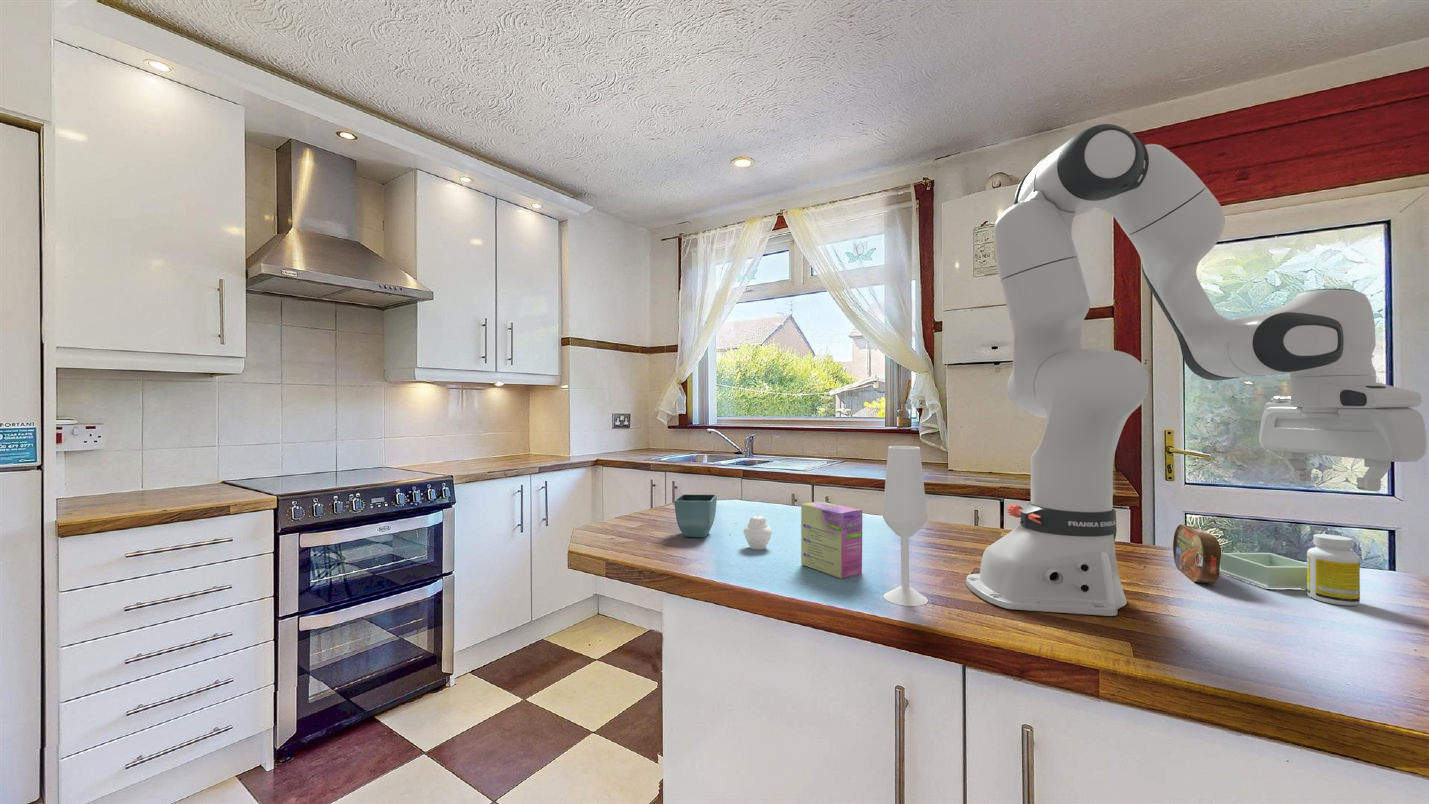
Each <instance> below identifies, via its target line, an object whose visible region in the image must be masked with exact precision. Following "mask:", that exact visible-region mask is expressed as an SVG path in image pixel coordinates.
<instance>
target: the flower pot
mask: <svg viewBox="0 0 1429 804" xmlns="http://www.w3.org/2000/svg"><path fill="white" fill-rule="evenodd" d="M717 497H718V495H717V494H707V493H706V494H695V493H694V494H692V493H691V494H686V493H685V494H684V493H683V494H681V495H680V496H678V497H677V498H676V499H674V500H673V504H674V512H675V519H676V523H677V526H678V529H679V530H680V532H681V534H682V536H684V538H703V539H704V538H706V537H707V536H708V534H709V533H710V531H711V529H712V526H713V525H714V521H715V518H716V511H717Z"/></svg>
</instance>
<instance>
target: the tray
mask: <svg viewBox="0 0 1429 804" xmlns="http://www.w3.org/2000/svg"><path fill="white" fill-rule="evenodd" d="M1219 572H1220V573H1221V575H1223V574H1226V575H1229V576H1231V577H1236V578H1238V579H1240V580H1244V581H1247V582H1249V583H1253V584H1255V585H1259V586H1262V587H1264V588H1301V589H1307V562H1303V561H1300V560H1297V559H1293V558H1289V557H1286V556H1283V555H1279V554H1276V553H1272V552H1221V558H1220V571H1219ZM1226 575H1225V576H1226ZM1229 576H1228V577H1229ZM1231 577H1230V578H1231ZM1240 580H1239V581H1240Z"/></svg>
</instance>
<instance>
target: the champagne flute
mask: <svg viewBox="0 0 1429 804" xmlns="http://www.w3.org/2000/svg"><path fill="white" fill-rule="evenodd" d="M886 459H887V460H886V471H885V483H884V492H883V493H884V494H883V496H884V497H883V503H882V504H883V507H882V517H883V520H884V522H885V523H886V525H887V526H888V527H889V528H890V529H891V530H892V531H893V533H894V534H896V535H897V536H898V537H900V558H901V559H900V562H901V563H900V565H901V566H900V567H901V569H900V570H901V571H900V573H901V574H900V575H901V578H900V580H901V582H900V583H901V584H900V586H898V587H896V588H894V589H891V590H890V591H888V592H886V593H884V594H883V598H884V600H886V601H887V602H888V603H891V604H894V605H898V606H903V607H904V606H905V607H919V606H923V605H926V604H927V603H928V602H929V600H928V598H927V597H926V596H924V595H923V594H921V593H920V592H918V591H917V590H916V589H914V588H912V587H911V586H910V543H909V541H910V538H911V537H912V536H914V535H916V534H917V533H918V532H919V531H920V530H921V529H922V528H924V527H923V526H924V525H926V522H927V520H928V510H927V504H926V503H927V500H926V492H925V483H924V482H925V481H924V475H923V474H924V473H923V465H922V456H921V448H920V447H919V446H910V445H892V446H891V445H890V446H888V449H887V458H886Z"/></svg>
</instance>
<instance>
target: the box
mask: <svg viewBox="0 0 1429 804" xmlns="http://www.w3.org/2000/svg"><path fill="white" fill-rule="evenodd" d="M800 509H801V510H800V516H801V517H800V518H801V519H800V522H801V523H800V524H801V526H800V527H801V528H800V529H801V530H800V541H801V543H800V547H801V548H800V549H801V550H800V551H801V553H800V554H801V555H800V558H801V559H800V561H801V562H800V564H801V565H802V566H806V567H807V568H808V567H809V568H811V569H813V570H817V571H820V572H823V573H825V574H828V575H830V576H832V577H835V578H838V579H841V580H843V579H847V578H851V577H855V576H859V575H862V574H863V510H862V509H861V508H860V509H858V508H855V507H849V506H846V505H840V504H835V503H832V502H831V503H830V502H826V501H823V500H822V501H821V500H819V501H814V502H813V501H812V502H807V503H802V504H801V505H800Z"/></svg>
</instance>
